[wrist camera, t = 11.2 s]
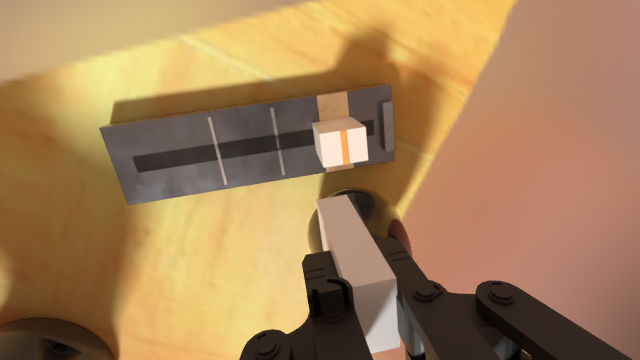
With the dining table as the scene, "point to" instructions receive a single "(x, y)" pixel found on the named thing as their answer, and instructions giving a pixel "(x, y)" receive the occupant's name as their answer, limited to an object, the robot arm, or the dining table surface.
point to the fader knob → (340, 141)
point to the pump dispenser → (366, 219)
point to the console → (241, 143)
